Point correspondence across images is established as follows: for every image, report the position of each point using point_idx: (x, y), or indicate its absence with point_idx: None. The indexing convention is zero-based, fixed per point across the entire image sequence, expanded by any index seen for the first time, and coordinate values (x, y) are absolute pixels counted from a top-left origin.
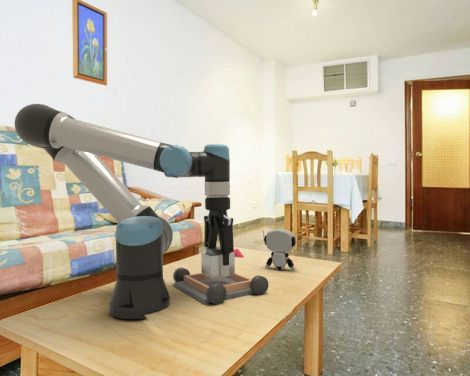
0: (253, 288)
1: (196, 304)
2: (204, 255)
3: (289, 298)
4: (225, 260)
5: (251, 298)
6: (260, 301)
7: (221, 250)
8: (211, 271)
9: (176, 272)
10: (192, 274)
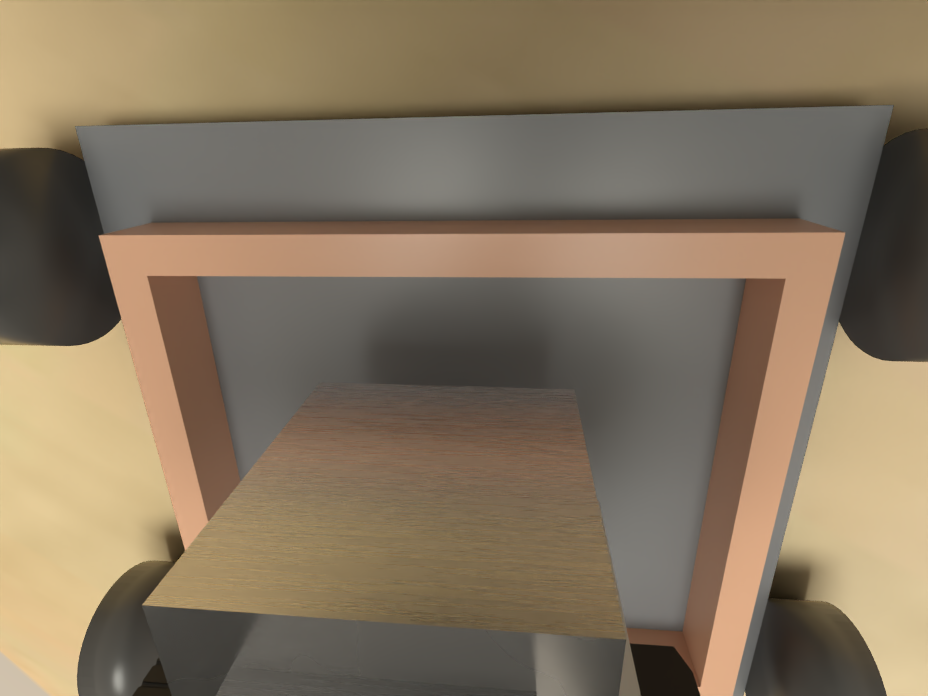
0: (137, 573)
1: (132, 55)
2: (457, 599)
3: (52, 643)
4: (139, 690)
5: (126, 493)
6: (48, 500)
7: None
8: (283, 433)
9: None
10: (803, 359)
